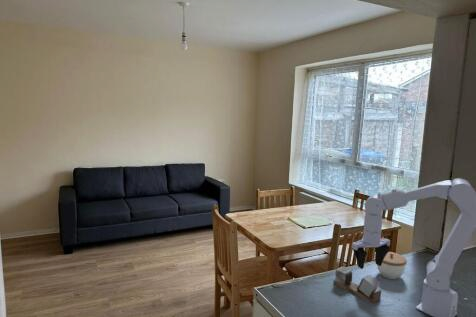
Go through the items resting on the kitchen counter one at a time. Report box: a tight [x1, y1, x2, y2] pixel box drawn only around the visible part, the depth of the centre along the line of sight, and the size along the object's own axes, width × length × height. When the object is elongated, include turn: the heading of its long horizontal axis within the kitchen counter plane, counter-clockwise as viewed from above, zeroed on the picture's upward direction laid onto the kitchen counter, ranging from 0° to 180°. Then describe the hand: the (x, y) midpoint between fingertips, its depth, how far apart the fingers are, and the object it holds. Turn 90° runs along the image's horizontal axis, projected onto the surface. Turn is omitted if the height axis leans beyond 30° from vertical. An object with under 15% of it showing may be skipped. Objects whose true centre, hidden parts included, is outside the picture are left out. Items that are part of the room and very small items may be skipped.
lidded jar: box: [376, 251, 408, 280], centre depth 127 cm, size 11×11×9 cm
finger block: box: [358, 274, 381, 297], centre depth 112 cm, size 4×4×5 cm
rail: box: [333, 266, 382, 304], centre depth 115 cm, size 16×4×6 cm, turn 38°
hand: (369, 266), depth 114 cm, fingers open, 7 cm apart
